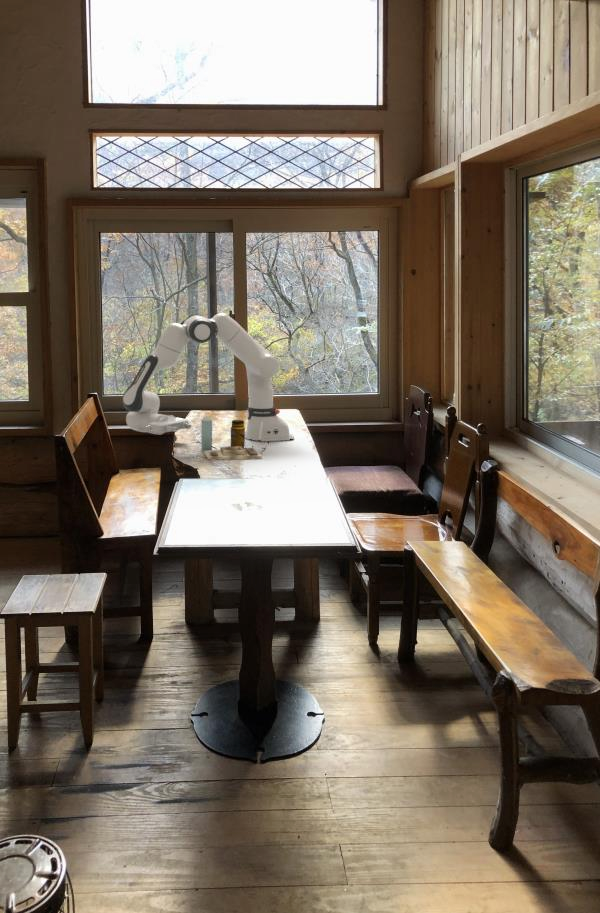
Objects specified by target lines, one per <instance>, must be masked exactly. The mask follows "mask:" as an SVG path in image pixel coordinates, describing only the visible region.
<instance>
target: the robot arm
mask: <svg viewBox="0 0 600 913" xmlns="http://www.w3.org/2000/svg"><path fill="white" fill-rule="evenodd" d="M214 338H216V339H218V340H219V341H220V342H221V344H222V345H223V346H225V347H226V349H227V350H229V352H231V353H232V354H233V355H234V356H235V357H236V358H237V359H239V360H240V361H241V362H242V363H243V364H244V366H245V370H246V379H247V388H248V406H247V409H246V412H247V415H246V418H247V424H246V428H245V440H250V439H252V441H258V440H261V441H260V442H264V441H265V442H279V441H281V440H282V441H291V440H290V439H293V440H294V439H295V436H294V435H293V434H292V433H290V428H289V425H288V424H287V423H286V422H285V421H284V420H283V419H282V418H281V417H279V416H278V415H279V414H280V409H278V408H276V407H275V406H274V388H273V386H272V385H273V384H272V380H271V378H273V377H274V376H276V375H277V374H278V372H279V368H280V366H279V365H280V364H279V361H278V360H277V359H276V357H275V356H274V355H273V354H272V353H270V352H269V351H268V350H267V349H266V347H264V346H262V345H261V344H260V343H259V342H258V341H257V340H256V339H254V338H253V337H252V336H251V335H250V334H249V332H247V330H245V329H244V327H242V325H240V323H238V322H237V321H236V320H235V319H234V318H232V317H231V316H230V315H228V314H226V313H224V312H219V313H217V314H215V315H213V317H211V318H207V317H204V316H203V315H201V314H191V315H190V316H188V317H186V319H185V320H182V322H181V323H177V322H171V323H169V324H168V325H167V326H166V328H165V329H164V331H163V332H162V334H161V336H160V338H159V340H158V343H157V344H156V347H155V348H154V349H153V351H152V352H151V354H150V355H148V356H147V357H146V359H145V360H144V361H143V362H142V365H141V366H140V368H139V370H138V372H137V373H136V375H135V376H134V379H133V380H132V382H131V384H130V385H129V386H128V388H126V390H125V391H124V393H123V394H122V398H121V399H122V400H121V401H122V404H123V408H125V410H126V411H127V412H128V413H127V414H126V416H125V422H126V425H127V426H128V427H129V428H130V429H131V430H133V431H136V432H140V433H149V434H153V435H159V436H161V435H163V434H165V433H170V432H174V433H175V432H178V431H179V430H180V431H181V430H184V429H188V430H189V429H190V430H191V429H192V424H191V423H190V424H189V420H188V419H186V418H181V417H176V416H174V415H173V414H162V413H159V411H160V407H161V398H160V396H159V395H158V393H156V392H153V391H148V390H146V388H147V386H148V385H149V382H150V381H151V379H152V377H153V376H154V375H155V374H156V373H157V372H160V371H162V370H166V369H170V368H172V367H174V366H176V365H177V363H178V362H179V360H180V358H181V356H182V353H183V351H184V348H185V347H186V345H187V344H188V343H189V342H191V341H193V342H195V343H196V344H204V343H208V342H209V341H210V340H212V339H214Z"/></svg>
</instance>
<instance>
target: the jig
mask: <svg viewBox="0 0 600 913" xmlns="http://www.w3.org/2000/svg"><path fill="white" fill-rule="evenodd" d="M219 448H220V449H217V450H216V449H212V450H204V451H203V454H205V455H206V456H205V455H204V456H205V457H207V458H208V459H225V460H252V459H251V458H262V459H263V455H262V454H261V453H260V452H259V451H258V450H257V449H255V448H253V447H252V448H251V447H250V448H249V447H245V448H246V449H243V448H242V447H228V446H220V447H219ZM207 458H206V459H207ZM208 459H207V460H208Z"/></svg>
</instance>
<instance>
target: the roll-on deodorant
mask: <svg viewBox="0 0 600 913" xmlns="http://www.w3.org/2000/svg"><path fill="white" fill-rule="evenodd" d="M200 444H201V445H200V446H201V447H200V448H201V450H203V451H202V452H204V450H213V419H212V418H211V417H210V416H209V415H204V416H203V417H202V419H201V443H200ZM201 450H200V451H201Z"/></svg>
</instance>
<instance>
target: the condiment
mask: <svg viewBox="0 0 600 913" xmlns="http://www.w3.org/2000/svg"><path fill="white" fill-rule="evenodd" d="M245 433H246V426H245V421H244V420H242V419H233V420H231V426H230V446H227V447H242V448H243V449H244V447H245V444H246V442H245V440H246V438H245ZM244 450H245V449H244Z"/></svg>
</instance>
